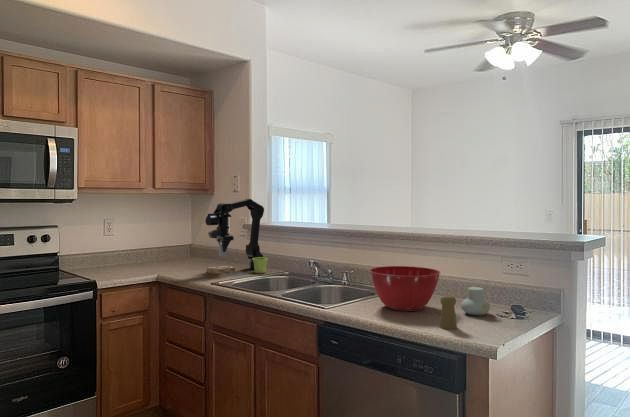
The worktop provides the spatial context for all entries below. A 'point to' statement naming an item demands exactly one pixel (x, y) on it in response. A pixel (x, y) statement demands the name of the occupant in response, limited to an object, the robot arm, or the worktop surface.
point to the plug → (222, 251)
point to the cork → (448, 312)
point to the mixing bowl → (404, 286)
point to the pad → (237, 273)
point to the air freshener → (475, 302)
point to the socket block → (220, 269)
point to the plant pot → (260, 264)
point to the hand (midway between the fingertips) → (223, 251)
